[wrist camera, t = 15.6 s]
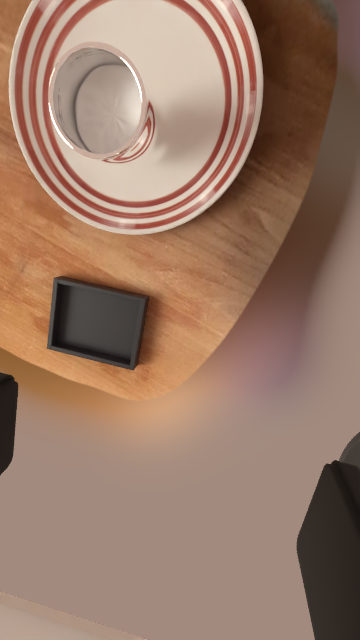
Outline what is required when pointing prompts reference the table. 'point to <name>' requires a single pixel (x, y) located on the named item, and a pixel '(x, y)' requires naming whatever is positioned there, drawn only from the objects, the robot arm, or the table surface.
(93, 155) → the beer glass
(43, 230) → the table surface
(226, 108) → the dinner plate
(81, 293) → the tray
